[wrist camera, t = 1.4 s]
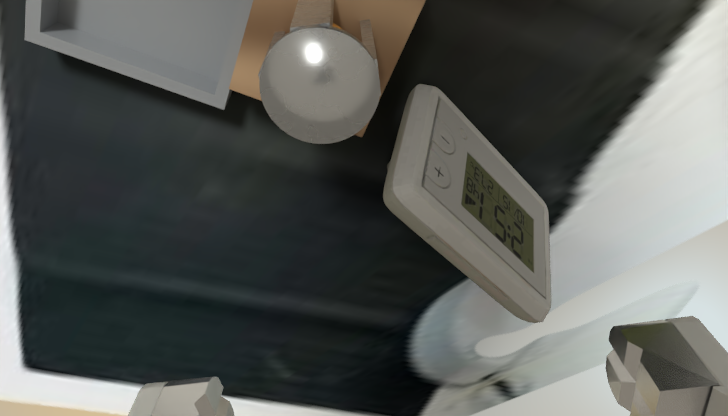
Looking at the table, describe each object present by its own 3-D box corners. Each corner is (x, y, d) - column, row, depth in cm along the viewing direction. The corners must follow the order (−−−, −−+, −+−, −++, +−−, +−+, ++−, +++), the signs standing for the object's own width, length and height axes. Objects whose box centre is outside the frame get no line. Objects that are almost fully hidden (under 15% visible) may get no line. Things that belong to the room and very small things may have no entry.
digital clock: (548, 210, 41) (603, 303, 33) (452, 256, 44) (480, 354, 35) (464, 49, 33) (507, 116, 25) (353, 117, 36) (356, 199, 27)
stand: (283, -89, 28) (276, -83, 25) (422, -24, 31) (431, -12, 28) (238, 69, 33) (228, 88, 31) (360, 115, 36) (362, 137, 33)
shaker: (365, -16, 27) (373, 20, 21) (376, 80, 31) (385, 136, 24) (267, -2, 28) (245, 37, 21) (288, 92, 31) (274, 150, 25)
